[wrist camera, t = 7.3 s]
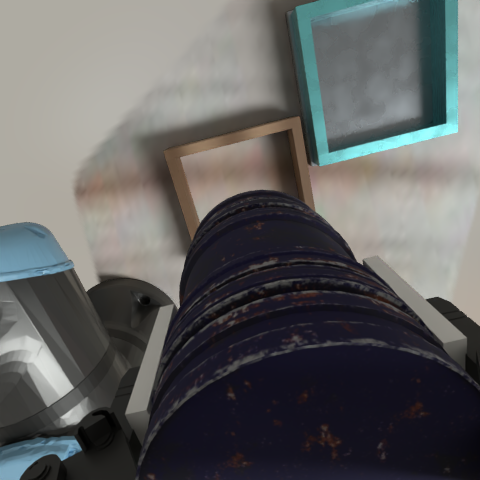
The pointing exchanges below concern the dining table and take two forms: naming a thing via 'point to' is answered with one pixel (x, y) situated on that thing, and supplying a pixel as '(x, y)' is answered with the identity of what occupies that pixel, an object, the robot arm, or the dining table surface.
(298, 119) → the walnut holder
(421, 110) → the teal square tray
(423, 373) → the navy oil drum
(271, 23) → the dining table surface
